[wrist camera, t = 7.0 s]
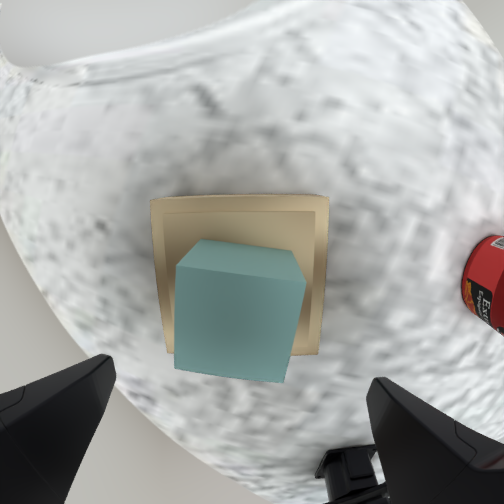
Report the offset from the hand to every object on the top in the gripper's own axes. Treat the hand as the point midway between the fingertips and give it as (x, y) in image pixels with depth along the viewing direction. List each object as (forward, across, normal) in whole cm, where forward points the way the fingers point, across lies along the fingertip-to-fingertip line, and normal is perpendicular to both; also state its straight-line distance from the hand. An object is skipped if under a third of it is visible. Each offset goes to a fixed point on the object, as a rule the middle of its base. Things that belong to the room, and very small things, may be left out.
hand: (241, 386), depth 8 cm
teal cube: (+8, 0, 0) cm, 8 cm away
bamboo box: (+12, +1, 0) cm, 12 cm away
